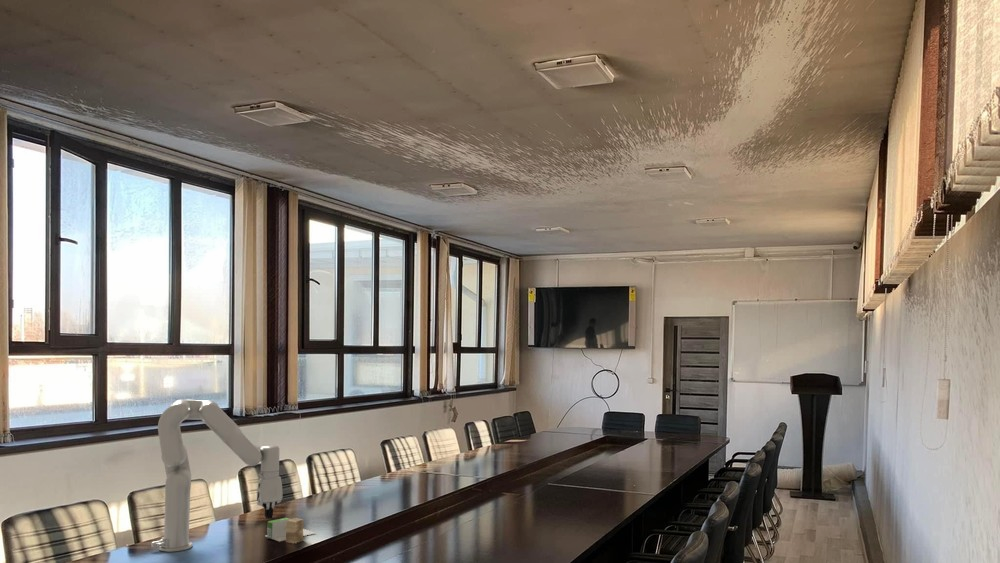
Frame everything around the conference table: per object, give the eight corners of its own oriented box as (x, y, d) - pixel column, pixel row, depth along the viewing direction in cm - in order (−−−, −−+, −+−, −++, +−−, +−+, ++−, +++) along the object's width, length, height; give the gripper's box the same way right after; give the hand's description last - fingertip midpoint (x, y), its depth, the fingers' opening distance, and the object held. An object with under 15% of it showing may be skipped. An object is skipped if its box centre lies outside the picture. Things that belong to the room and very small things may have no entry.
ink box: (266, 537, 323) (292, 531, 334) (271, 539, 321) (297, 533, 331) (266, 521, 324) (292, 515, 334) (272, 523, 321) (298, 517, 332)
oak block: (294, 543, 316) (295, 521, 317) (285, 542, 318) (286, 520, 319) (303, 540, 320) (303, 519, 321) (294, 539, 323) (294, 518, 323)
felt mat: (279, 541, 319) (279, 540, 319) (265, 536, 327) (265, 535, 327) (315, 534, 331) (316, 533, 331) (301, 529, 340) (301, 528, 340)
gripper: (257, 478, 316) (256, 522, 314) (289, 473, 326) (288, 516, 325) (249, 475, 321) (248, 519, 319) (281, 471, 331) (280, 513, 330)
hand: (268, 517), depth 322 cm, fingers closed
